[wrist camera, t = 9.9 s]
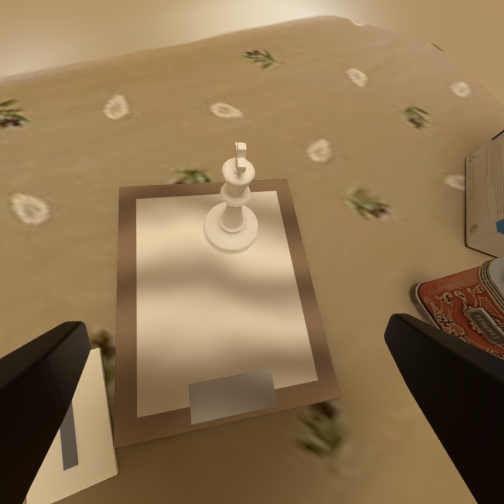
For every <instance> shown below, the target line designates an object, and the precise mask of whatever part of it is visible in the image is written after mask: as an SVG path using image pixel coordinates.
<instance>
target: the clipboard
mask: <svg viewBox="0 0 504 504" xmlns="http://www.w3.org/2000/svg"><path fill="white" fill-rule="evenodd" d="M225 183H226V182H211V183H191V184H171V185H151V186H131V187H119V225H118V269H117V314H116V358H115V403H114V448H113V449H115V448H119V447H124V446H128V445H132V444H137V443H141V442H146V441H150V440H155V439H159V438H164V437H168V436H173V435H177V434H181V433H186V432H190V431H195V430H199V429H204V428H208V427H213V426H217V425H222V424H226V423H230V422H235V421H239V420H244V419H248V418H253V417H257V416H262V415H266V414H270V413H275V412H279V411H284V410H288V409H293V408H297V407H302V406H306V405H311V404H315V403H319V402H324V401H328V400H333V399H337V398H340V395H339V391H338V387H337V383H336V378H335V374H334V370H333V366H332V362H331V358H330V354H329V350H328V346H327V341H326V337H325V333H324V329H323V325H322V321H321V317H320V313H319V309H318V304H317V300H316V296H315V292H314V288H313V284H312V280H311V276H310V271H309V267H308V263H307V259H306V255H305V251H304V247H303V243H302V239H301V234H300V230H299V226H298V222H297V218H296V214H295V210H294V206H293V202H292V197H291V193H290V189H289V185H288V181H287V179H271V180H252V182H251V183H250V184H249V185H248V187H249V189H250V192H251V198H250V200H249V202H248V203H247V204H245V206H247V207H248V208H249V209H250V210H251V211H252V212H253V213H254V214H255V216H256V218H257V221H258V236H257V239H256V241H255V243H254V244H253V245H252V246H251V247H250V248H249V249H247V250H246V251H244V252H241V253H237V254H227V253H223V252H220V251H218V250H216V249H215V248H213V247H212V246H211V245H210V244H209V243H208V241H207V240H206V238H205V235H204V229H203V227H204V221H205V218H206V215H207V214H208V212H209V211H210V210H211V209H212V208H213V207H214V206H216V205H218V204H220V203H224V201H223V200H222V198H221V195H220V191H221V188H222V186H223V185H224V184H225Z"/></svg>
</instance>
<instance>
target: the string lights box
mask: <svg viewBox="0 0 504 504" xmlns="http://www.w3.org/2000/svg"><path fill="white" fill-rule="evenodd" d="M466 245H467V246H468V247H471V248H474V249H476V250H479V251H482V252H484V253H487V254H490V255H493V256H495V257H498V258H504V130H503V131H502V132H500V133H499V134H498V135H496V136H495V137H494V138H492V139H491V140H490V141H488V142H487V143H486V144H484V145H483V146H482V147H481V148H479V149H478V150H477V151H475V152H474V153H473V154H471V155H470V156H469V157H467V158H466Z"/></svg>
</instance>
